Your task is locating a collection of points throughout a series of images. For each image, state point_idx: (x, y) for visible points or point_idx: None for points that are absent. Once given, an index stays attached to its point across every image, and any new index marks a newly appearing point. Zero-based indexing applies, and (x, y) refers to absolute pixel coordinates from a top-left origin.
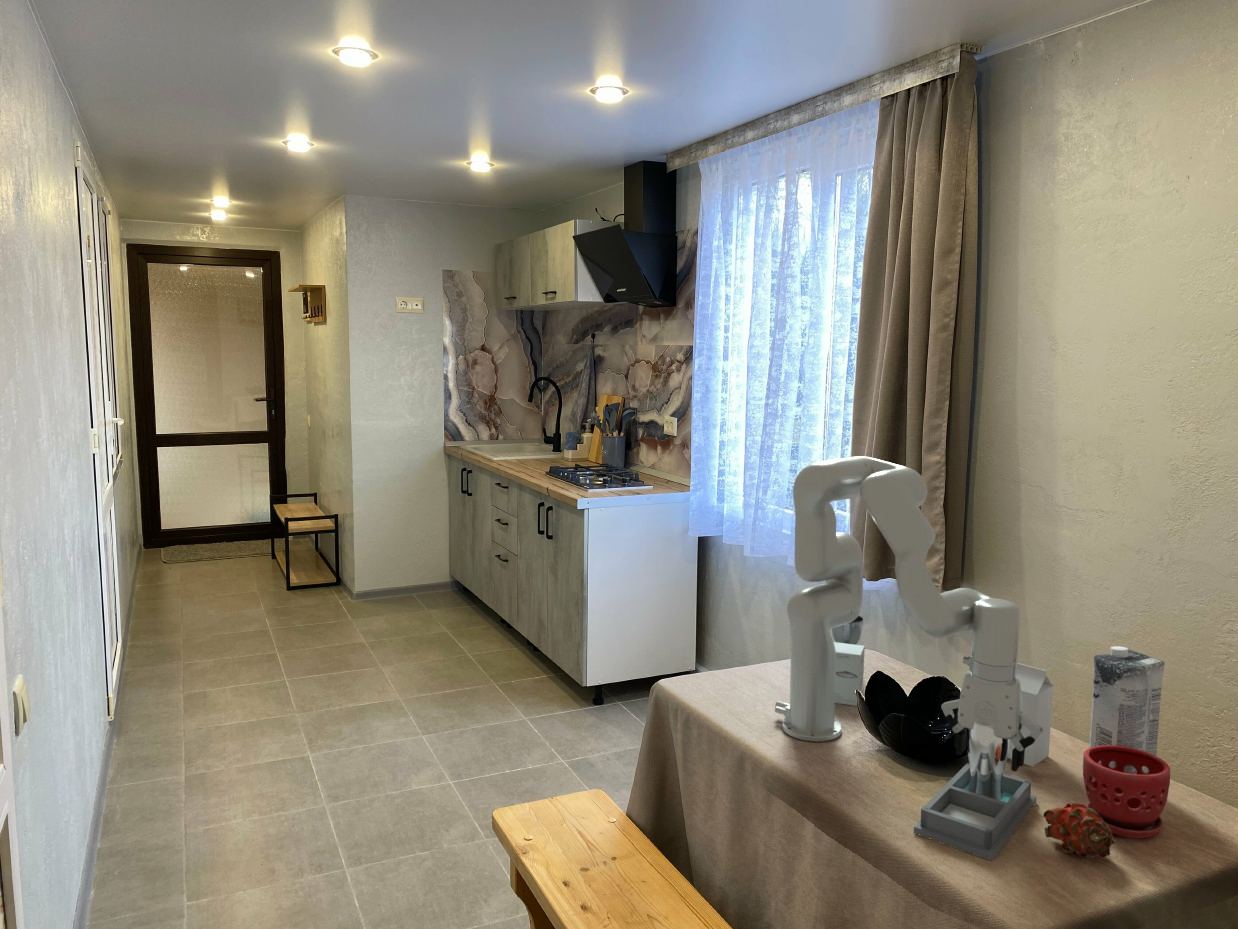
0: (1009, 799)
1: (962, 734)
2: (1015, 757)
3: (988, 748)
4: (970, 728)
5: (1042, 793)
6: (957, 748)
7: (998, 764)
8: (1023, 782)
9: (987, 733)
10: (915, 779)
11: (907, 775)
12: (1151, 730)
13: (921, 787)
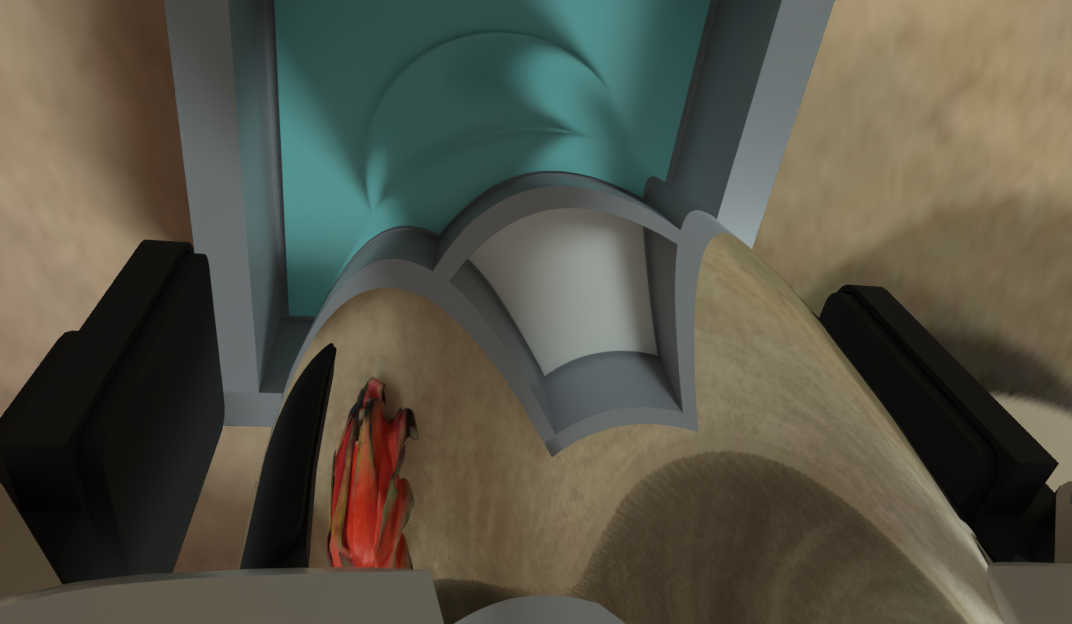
0: (341, 238)
1: (963, 504)
2: (74, 358)
3: (516, 288)
4: (1047, 572)
5: (243, 466)
6: (908, 324)
7: (362, 241)
8: (261, 392)
9: (621, 544)
10: (943, 233)
11: (988, 254)
12: None
13: (911, 152)
